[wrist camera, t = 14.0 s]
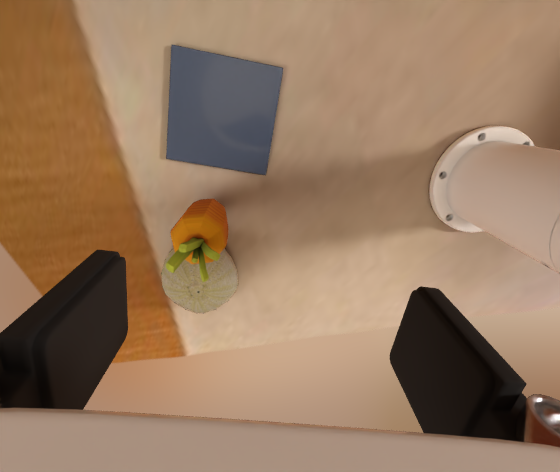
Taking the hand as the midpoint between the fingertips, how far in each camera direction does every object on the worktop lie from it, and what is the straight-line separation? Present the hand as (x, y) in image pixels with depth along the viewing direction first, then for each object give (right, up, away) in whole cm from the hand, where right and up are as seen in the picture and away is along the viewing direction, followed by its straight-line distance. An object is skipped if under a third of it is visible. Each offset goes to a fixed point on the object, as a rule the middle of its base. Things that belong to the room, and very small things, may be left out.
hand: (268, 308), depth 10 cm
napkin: (-6, +15, +24) cm, 29 cm away
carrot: (-7, +6, +27) cm, 29 cm away
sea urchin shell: (-10, -2, +31) cm, 32 cm away
